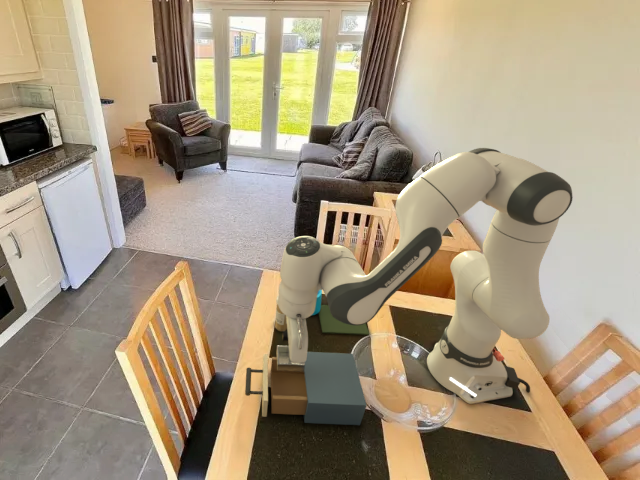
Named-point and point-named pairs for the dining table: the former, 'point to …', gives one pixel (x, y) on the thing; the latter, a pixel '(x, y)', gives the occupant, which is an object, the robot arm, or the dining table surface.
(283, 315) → the sprinkles bottle
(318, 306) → the mug
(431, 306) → the dining table surface
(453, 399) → the dining table surface
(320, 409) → the cabinet
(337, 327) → the mat
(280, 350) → the metal tray
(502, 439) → the dining table surface
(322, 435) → the dining table surface
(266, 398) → the drawer
